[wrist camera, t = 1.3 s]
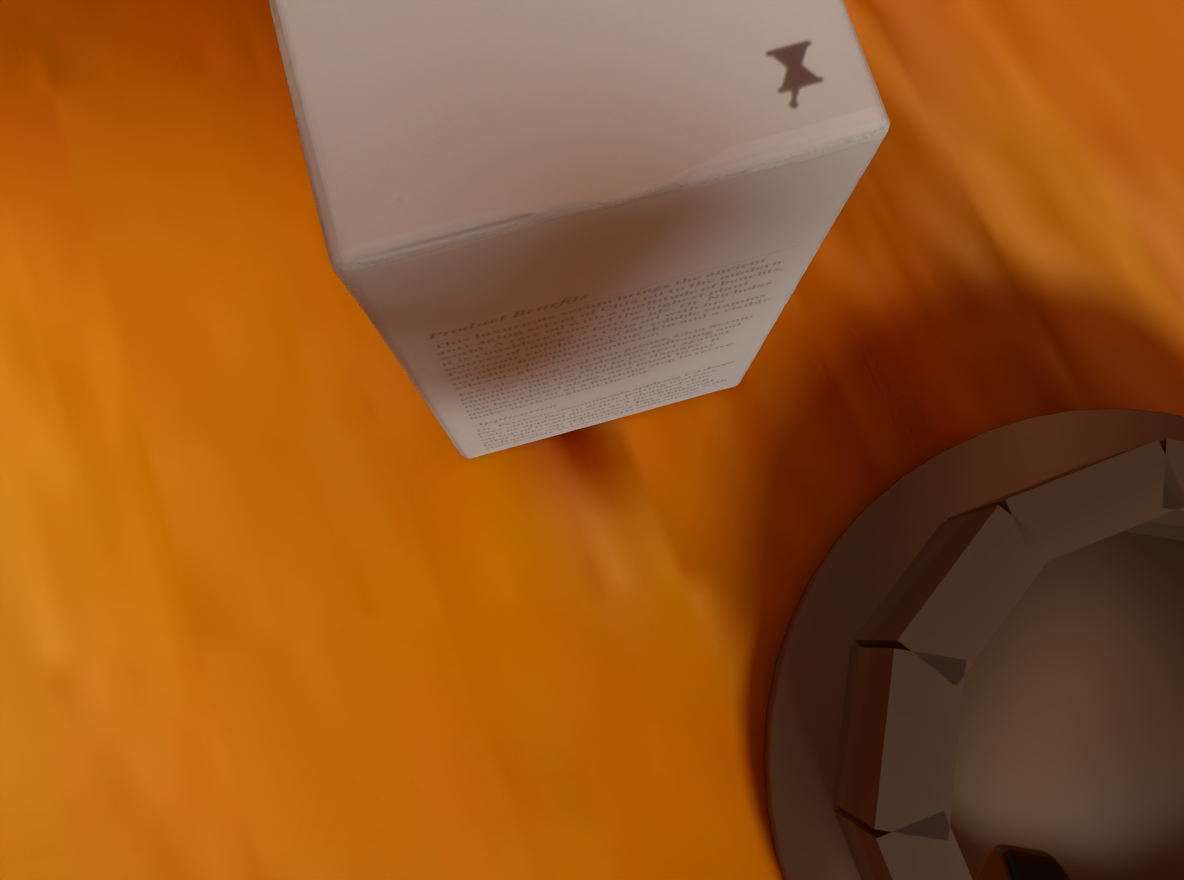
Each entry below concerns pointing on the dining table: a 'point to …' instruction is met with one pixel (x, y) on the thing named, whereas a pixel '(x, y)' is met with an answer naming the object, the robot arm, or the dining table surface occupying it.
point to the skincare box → (575, 189)
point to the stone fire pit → (994, 664)
